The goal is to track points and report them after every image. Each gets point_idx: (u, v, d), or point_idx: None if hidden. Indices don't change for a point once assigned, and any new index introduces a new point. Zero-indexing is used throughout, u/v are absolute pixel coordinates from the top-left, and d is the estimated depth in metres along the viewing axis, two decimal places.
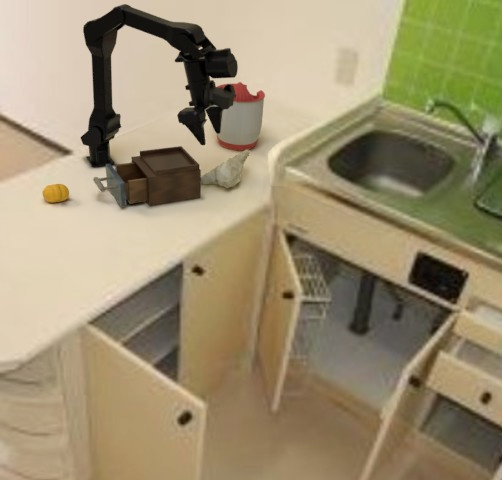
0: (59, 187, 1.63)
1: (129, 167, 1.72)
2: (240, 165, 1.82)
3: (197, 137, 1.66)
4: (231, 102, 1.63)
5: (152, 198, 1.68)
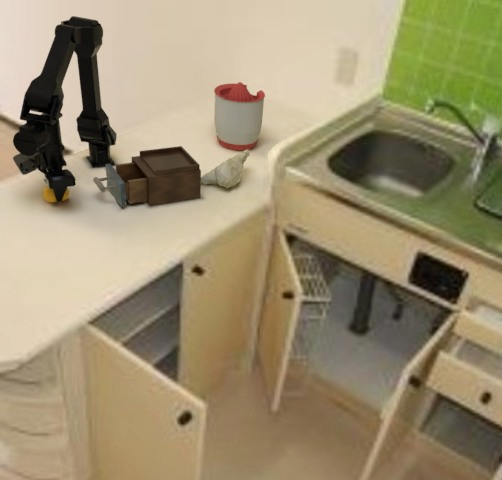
0: None
1: (129, 167, 1.72)
2: (240, 165, 1.82)
3: None
4: None
5: (152, 198, 1.68)
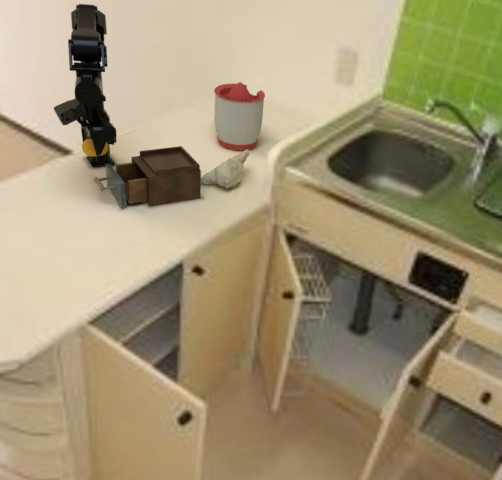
0: None
1: (129, 167, 1.72)
2: (240, 165, 1.82)
3: None
4: None
5: (152, 198, 1.68)
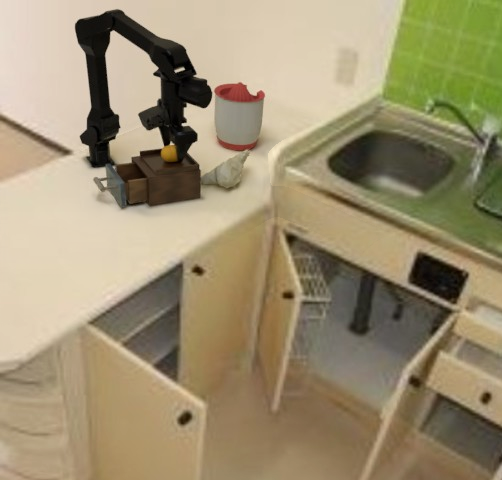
0: None
1: (129, 167, 1.72)
2: (240, 165, 1.82)
3: None
4: (143, 124, 1.62)
5: (152, 198, 1.68)
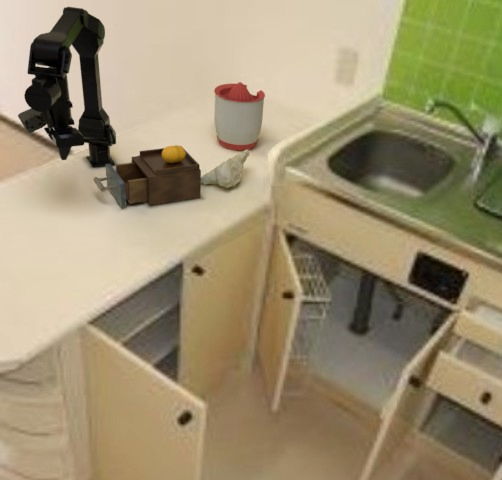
0: (178, 150, 1.69)
1: (129, 167, 1.72)
2: (240, 165, 1.82)
3: None
4: None
5: (152, 198, 1.68)
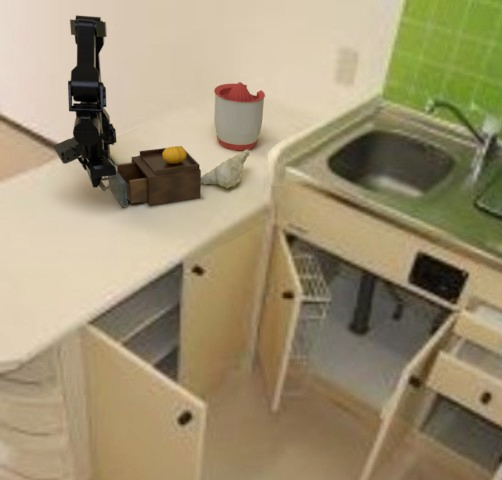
0: (180, 153, 1.69)
1: (130, 167, 1.72)
2: (240, 165, 1.82)
3: None
4: (59, 156, 1.55)
5: (152, 198, 1.68)
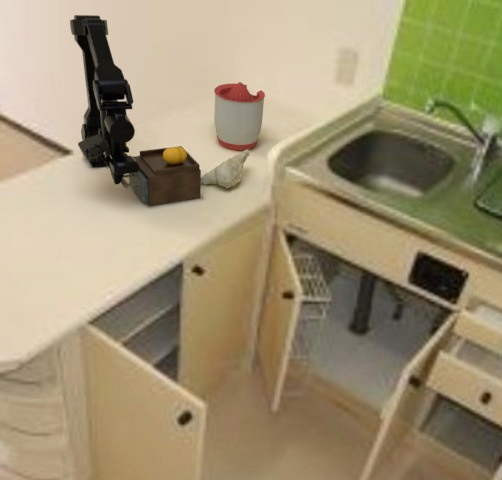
0: (180, 155, 1.69)
1: None
2: (240, 165, 1.82)
3: None
4: (83, 153, 1.58)
5: (152, 198, 1.68)
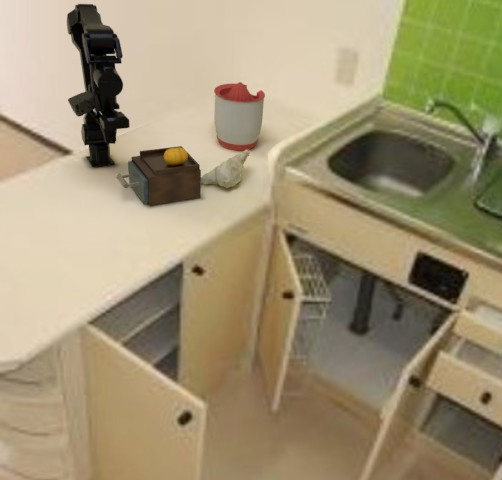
0: (181, 158, 1.69)
1: None
2: (240, 165, 1.82)
3: None
4: (73, 109, 1.57)
5: (152, 198, 1.68)
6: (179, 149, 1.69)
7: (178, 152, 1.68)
